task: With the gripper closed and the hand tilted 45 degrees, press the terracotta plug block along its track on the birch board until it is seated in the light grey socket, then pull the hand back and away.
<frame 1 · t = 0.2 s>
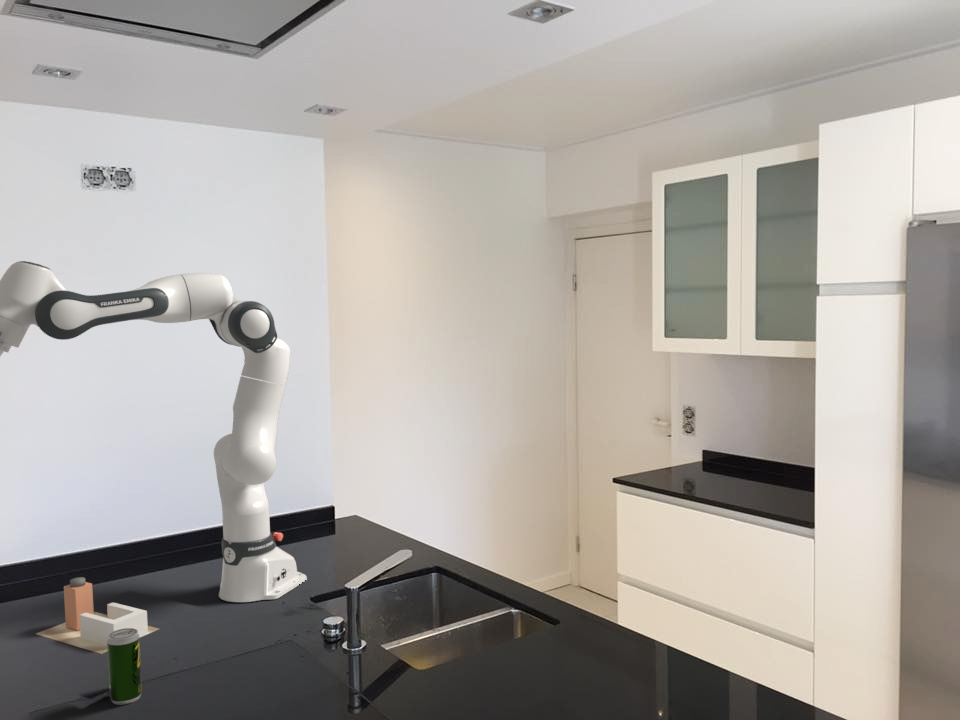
plug: (78, 602, 176), point 7 cm above the worktop, slide at 0.0 cm
beer can: (126, 699, 147), on the worktop
socket: (112, 635, 171), resting on base board
base board: (98, 638, 174), on the worktop
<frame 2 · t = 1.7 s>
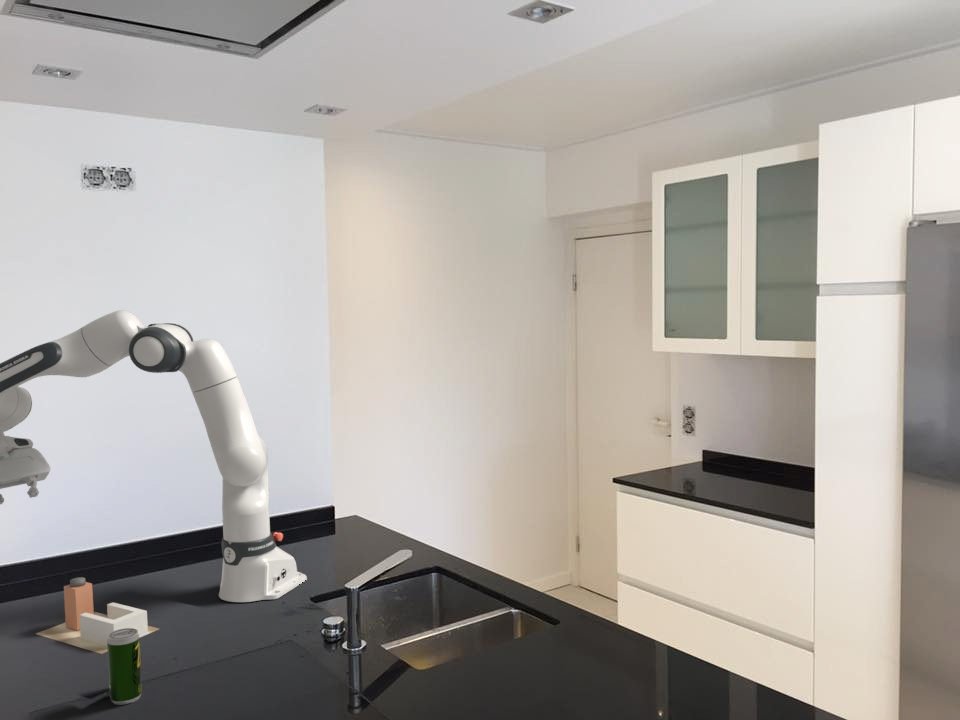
hand: (17, 499, 185), 27 cm above the worktop, tool tilted 45°, fingers open, 7 cm apart
nothing on the worktop moved.
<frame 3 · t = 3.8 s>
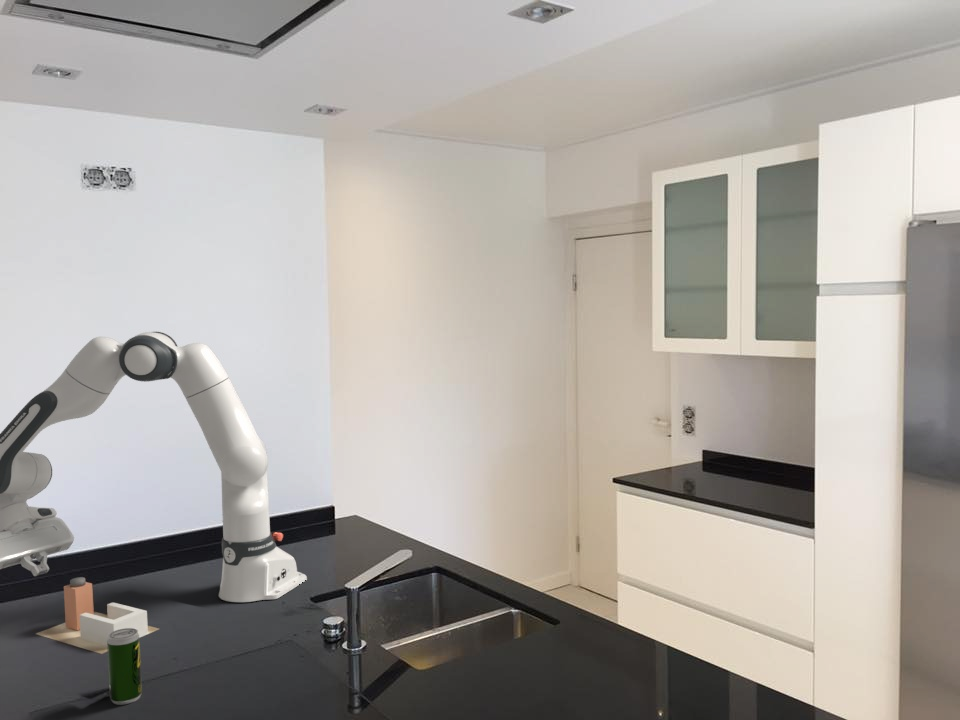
hand: (42, 572, 183), 11 cm above the worktop, tool tilted 45°, fingers closed
nothing on the worktop moved.
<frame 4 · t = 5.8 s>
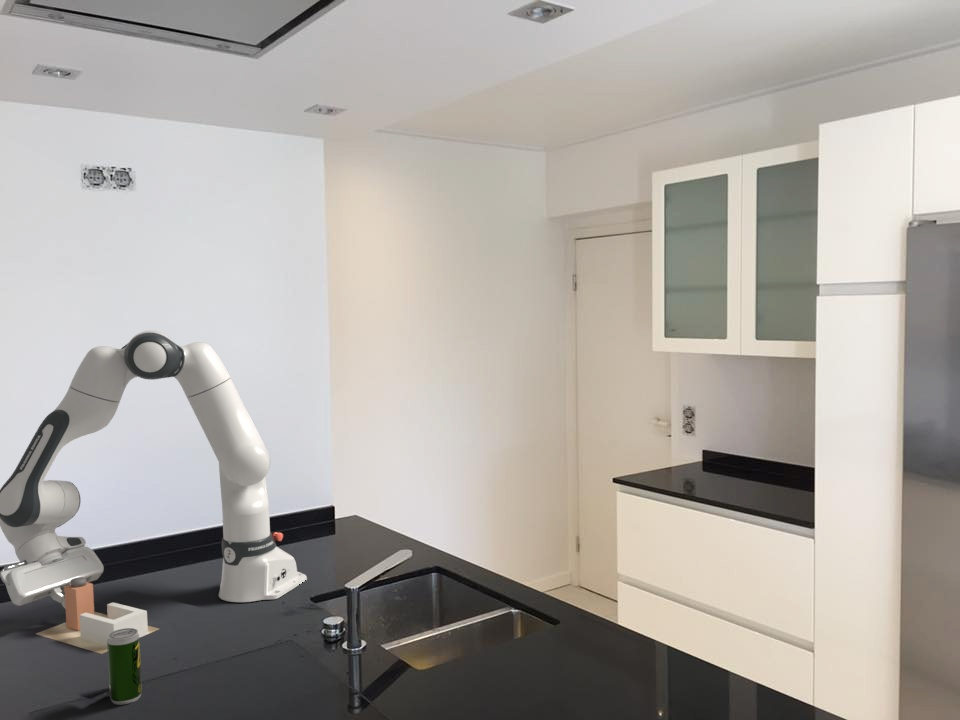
hand: (72, 605, 178), 6 cm above the worktop, tool tilted 45°, fingers closed, pressing on plug
plug: (79, 602, 176), point 7 cm above the worktop, slide at 0.2 cm, touching gripper
everything else where it was.
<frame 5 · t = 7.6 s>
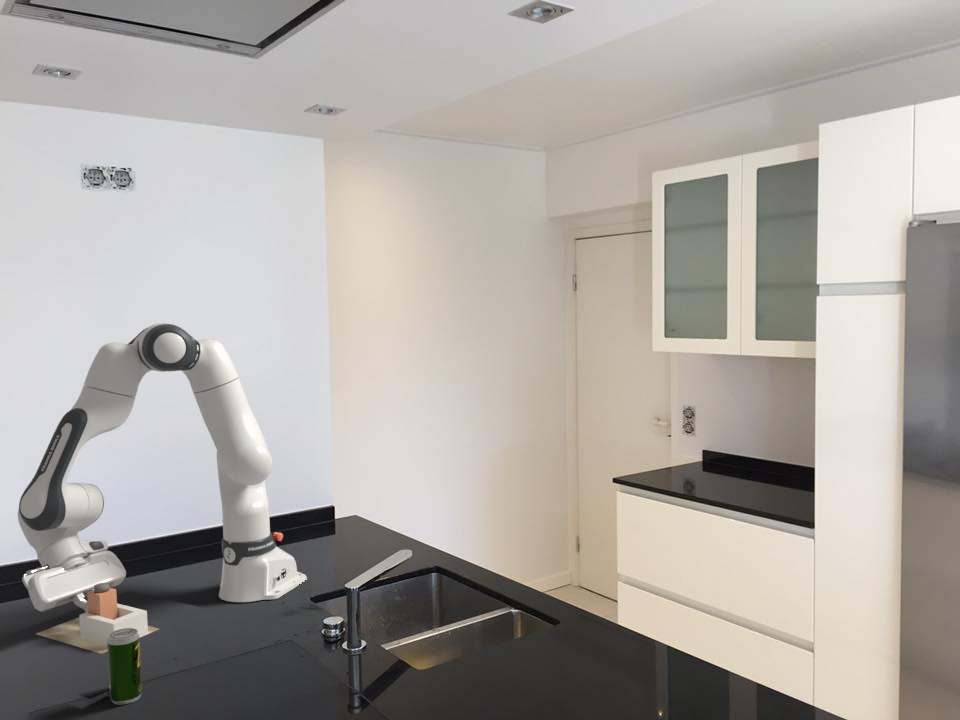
hand: (95, 611, 174), 6 cm above the worktop, tool tilted 45°, fingers closed, pressing on plug
plug: (102, 608, 172), point 7 cm above the worktop, slide at 8.1 cm, touching gripper
everything else where it was.
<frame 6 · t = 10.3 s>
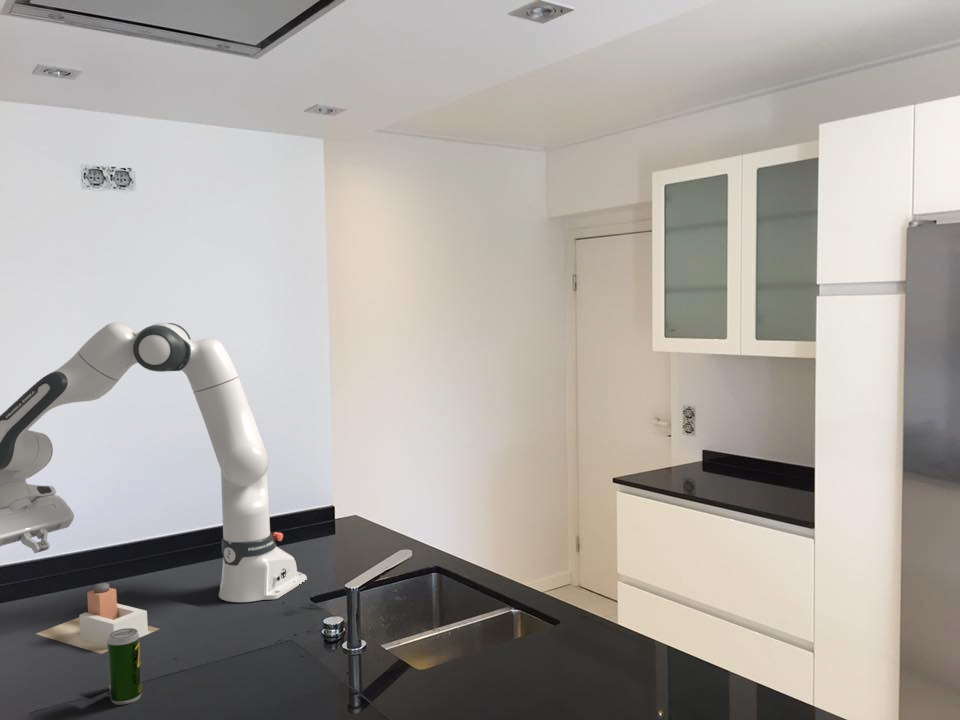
hand: (42, 549, 182), 17 cm above the worktop, tool tilted 45°, fingers closed
plug: (102, 608, 172), point 7 cm above the worktop, slide at 8.0 cm
everything else where it was.
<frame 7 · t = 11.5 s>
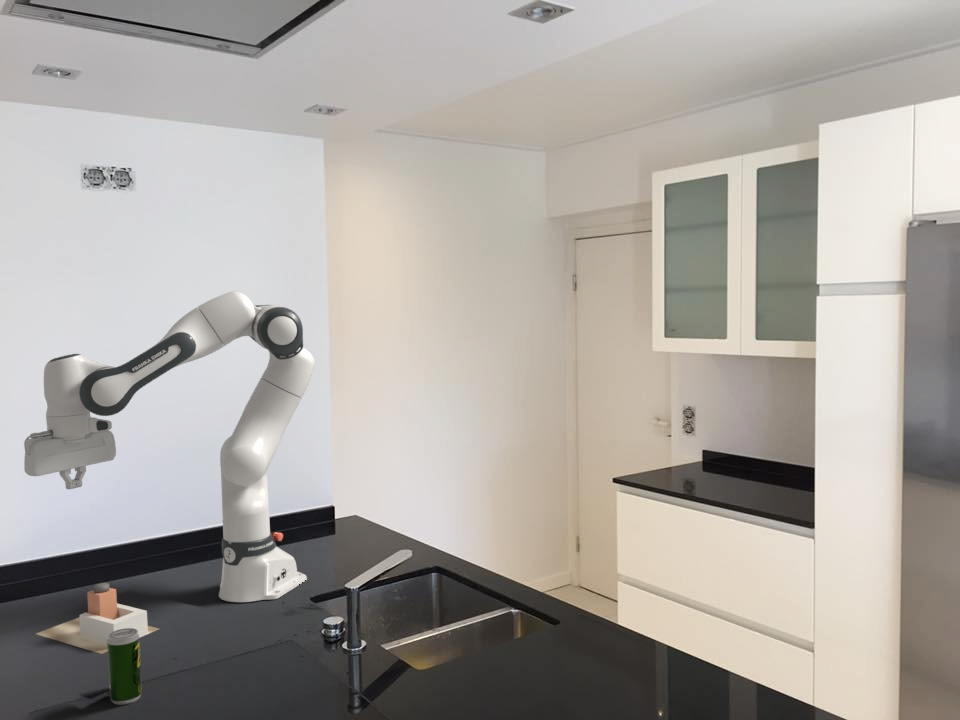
hand: (74, 487, 183), 30 cm above the worktop, tool pointing down, fingers closed
nothing on the worktop moved.
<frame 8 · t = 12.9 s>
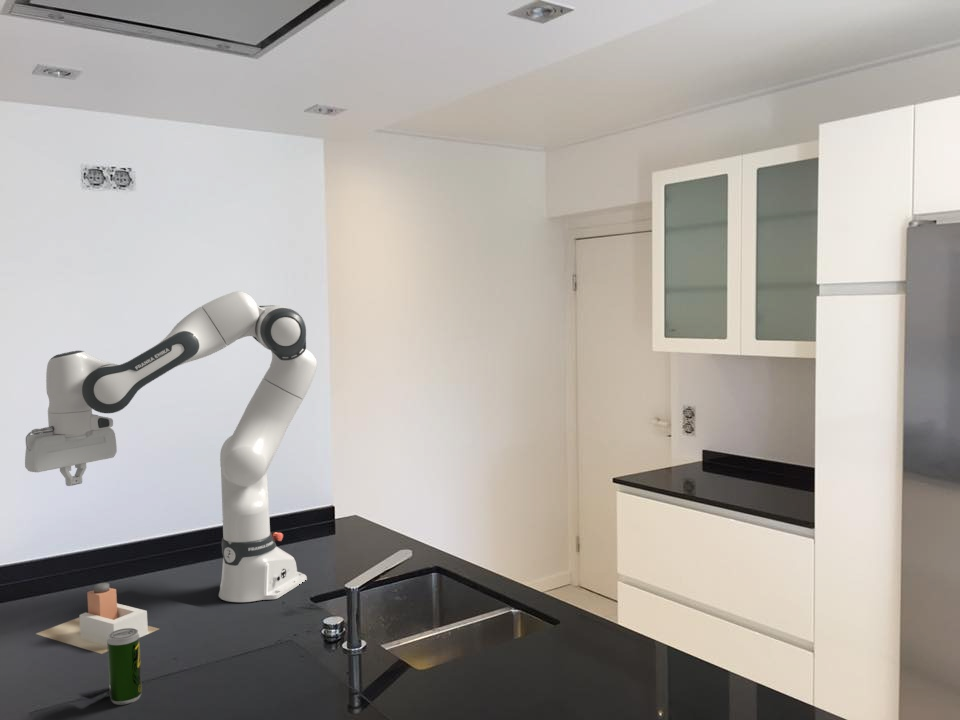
hand: (74, 484, 183), 31 cm above the worktop, tool pointing down, fingers closed
nothing on the worktop moved.
at the end: plug slide at 8.0 cm; beer can moved 0.2 cm from its start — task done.
